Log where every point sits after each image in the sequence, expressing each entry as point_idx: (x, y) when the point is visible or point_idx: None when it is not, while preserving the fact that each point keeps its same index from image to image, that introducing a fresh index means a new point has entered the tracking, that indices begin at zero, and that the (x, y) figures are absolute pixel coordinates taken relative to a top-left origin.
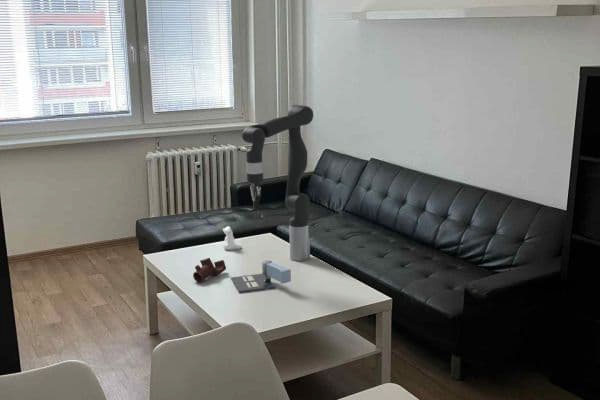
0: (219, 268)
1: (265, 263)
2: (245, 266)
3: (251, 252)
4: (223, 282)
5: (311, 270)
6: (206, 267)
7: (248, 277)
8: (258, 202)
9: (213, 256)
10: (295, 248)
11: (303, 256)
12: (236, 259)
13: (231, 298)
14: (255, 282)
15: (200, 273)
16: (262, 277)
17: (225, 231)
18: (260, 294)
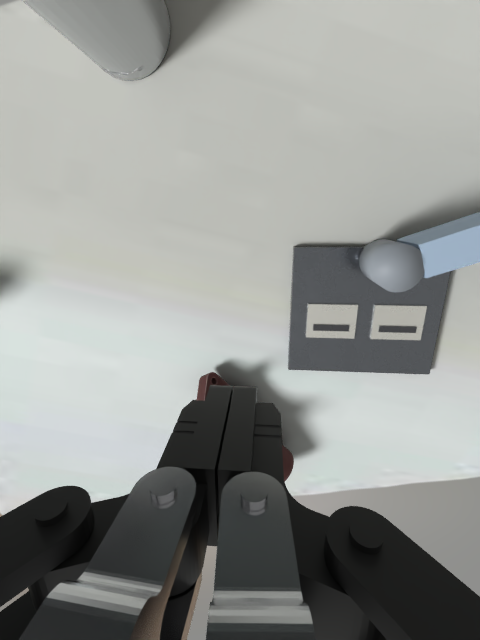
0: None
1: (417, 281)
2: (171, 292)
3: (12, 232)
4: (304, 392)
5: (315, 15)
6: None
7: (320, 318)
8: (251, 456)
9: (40, 369)
10: (139, 28)
11: (162, 3)
12: (86, 305)
13: (456, 400)
14: (383, 307)
15: (287, 473)
16: (336, 268)
17: None
18: (476, 310)
